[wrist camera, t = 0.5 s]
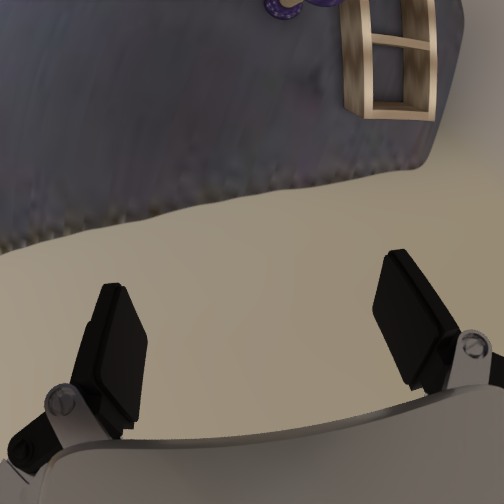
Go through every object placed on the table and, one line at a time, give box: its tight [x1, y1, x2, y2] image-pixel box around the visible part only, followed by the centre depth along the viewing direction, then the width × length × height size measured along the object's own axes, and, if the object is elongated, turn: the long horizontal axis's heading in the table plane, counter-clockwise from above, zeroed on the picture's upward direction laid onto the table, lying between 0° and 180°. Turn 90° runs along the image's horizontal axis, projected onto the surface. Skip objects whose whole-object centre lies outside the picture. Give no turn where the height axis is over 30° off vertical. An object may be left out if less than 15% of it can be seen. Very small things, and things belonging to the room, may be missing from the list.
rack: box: [339, 0, 437, 121], centre depth 25 cm, size 26×10×6 cm, turn 5°
